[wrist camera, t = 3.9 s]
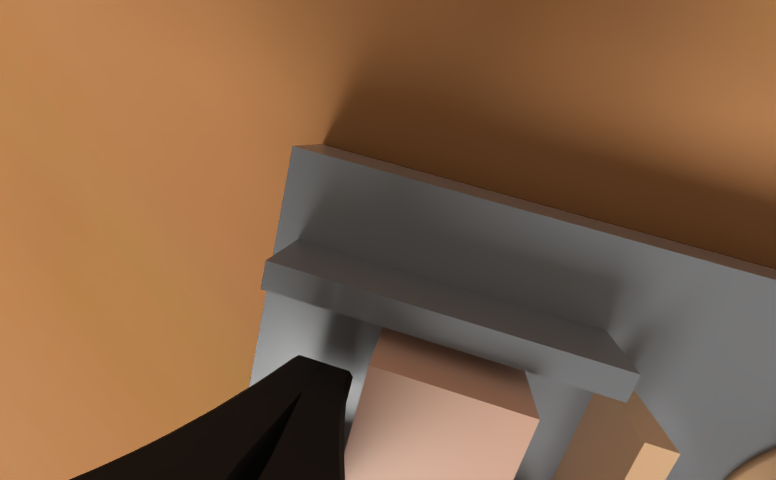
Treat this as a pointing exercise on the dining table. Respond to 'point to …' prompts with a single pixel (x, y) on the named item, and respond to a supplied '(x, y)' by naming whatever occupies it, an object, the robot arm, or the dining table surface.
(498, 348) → the battery checker
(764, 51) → the dining table surface
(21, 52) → the dining table surface
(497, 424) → the slider
